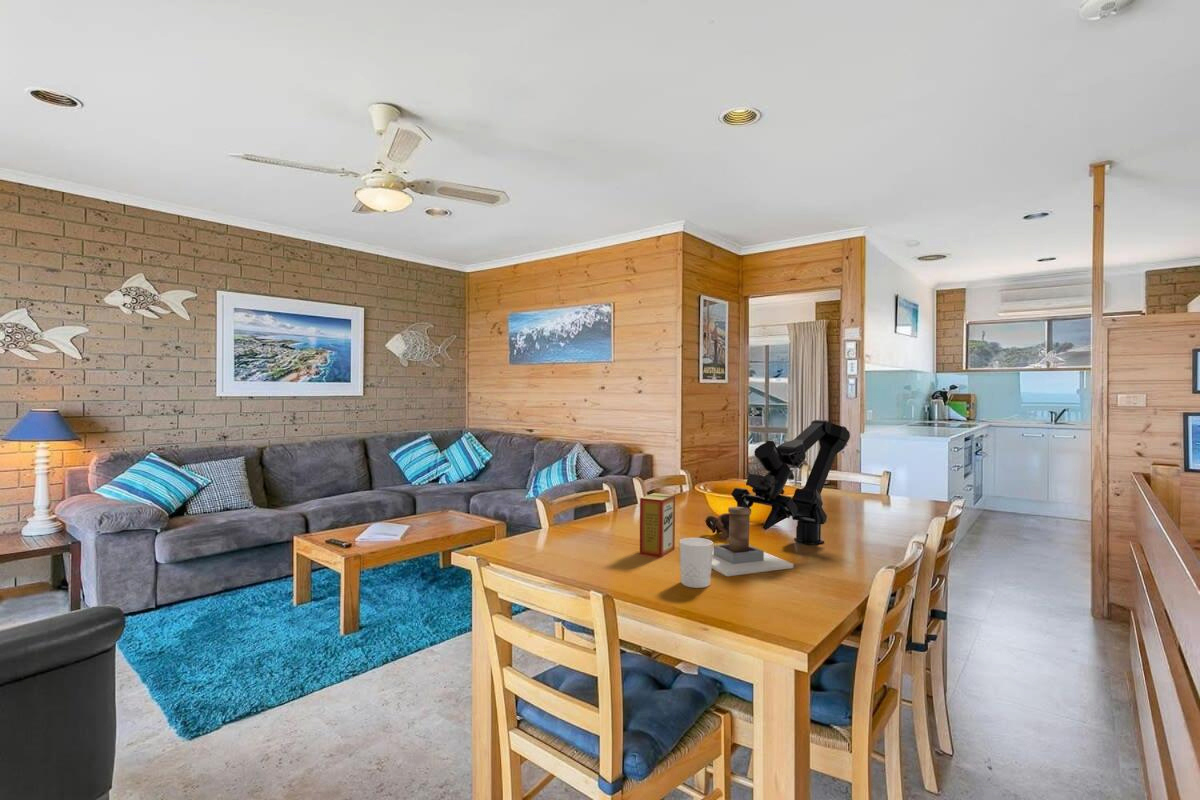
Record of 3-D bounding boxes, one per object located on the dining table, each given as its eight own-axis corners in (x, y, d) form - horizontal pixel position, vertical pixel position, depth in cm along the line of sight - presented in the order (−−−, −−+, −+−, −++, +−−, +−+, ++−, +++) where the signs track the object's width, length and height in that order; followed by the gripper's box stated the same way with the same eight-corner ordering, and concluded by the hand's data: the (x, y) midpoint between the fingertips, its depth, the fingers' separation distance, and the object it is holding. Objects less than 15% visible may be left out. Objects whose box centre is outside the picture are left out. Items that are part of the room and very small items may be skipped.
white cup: (689, 576, 148) (690, 535, 148) (718, 583, 143) (719, 541, 143) (672, 584, 142) (672, 542, 142) (701, 591, 137) (702, 547, 137)
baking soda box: (661, 557, 164) (661, 499, 164) (639, 554, 167) (640, 496, 167) (674, 549, 172) (675, 493, 172) (653, 546, 176) (654, 491, 175)
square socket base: (747, 548, 174) (747, 536, 174) (793, 567, 155) (793, 554, 155) (686, 555, 166) (686, 542, 166) (727, 576, 148) (727, 562, 148)
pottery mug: (743, 535, 191) (748, 516, 187) (735, 555, 184) (740, 535, 179) (707, 522, 195) (710, 503, 191) (698, 541, 188) (701, 521, 184)
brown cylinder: (749, 555, 163) (750, 507, 163) (750, 561, 157) (752, 511, 157) (726, 553, 164) (728, 506, 164) (727, 559, 158) (728, 510, 158)
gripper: (735, 459, 174) (709, 502, 167) (791, 466, 159) (765, 513, 153) (752, 484, 179) (728, 526, 172) (808, 492, 164) (784, 539, 158)
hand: (749, 526), depth 164 cm, fingers open, 9 cm apart
